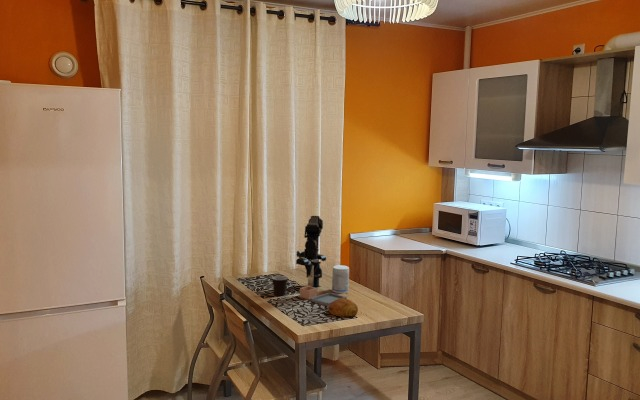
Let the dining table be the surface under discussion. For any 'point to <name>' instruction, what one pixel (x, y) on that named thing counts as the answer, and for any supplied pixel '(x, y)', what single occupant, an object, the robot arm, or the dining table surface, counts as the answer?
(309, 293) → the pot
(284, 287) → the coffee mug
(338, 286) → the supplement tub
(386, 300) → the dining table surface
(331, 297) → the tray
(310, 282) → the dowel
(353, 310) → the croissant
